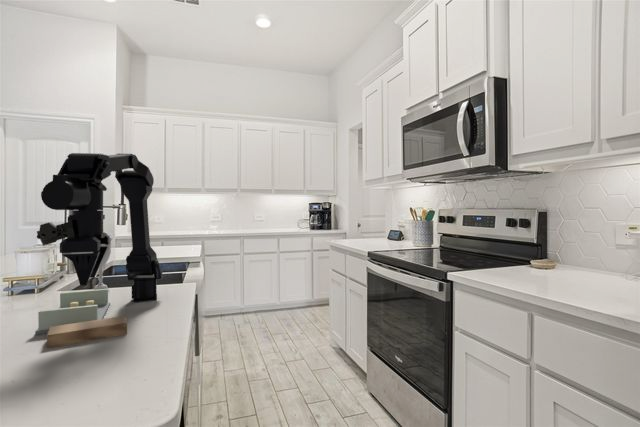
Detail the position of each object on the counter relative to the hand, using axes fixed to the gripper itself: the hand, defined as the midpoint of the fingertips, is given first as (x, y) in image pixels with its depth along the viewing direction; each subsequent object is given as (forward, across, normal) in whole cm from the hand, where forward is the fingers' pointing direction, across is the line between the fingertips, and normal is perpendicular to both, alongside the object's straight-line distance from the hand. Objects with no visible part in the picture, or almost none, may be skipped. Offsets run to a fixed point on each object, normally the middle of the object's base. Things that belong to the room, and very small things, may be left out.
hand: (87, 281), depth 74 cm
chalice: (+12, -46, -4) cm, 48 cm away
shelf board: (+13, 0, 0) cm, 13 cm away
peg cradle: (+12, -16, -5) cm, 21 cm away
